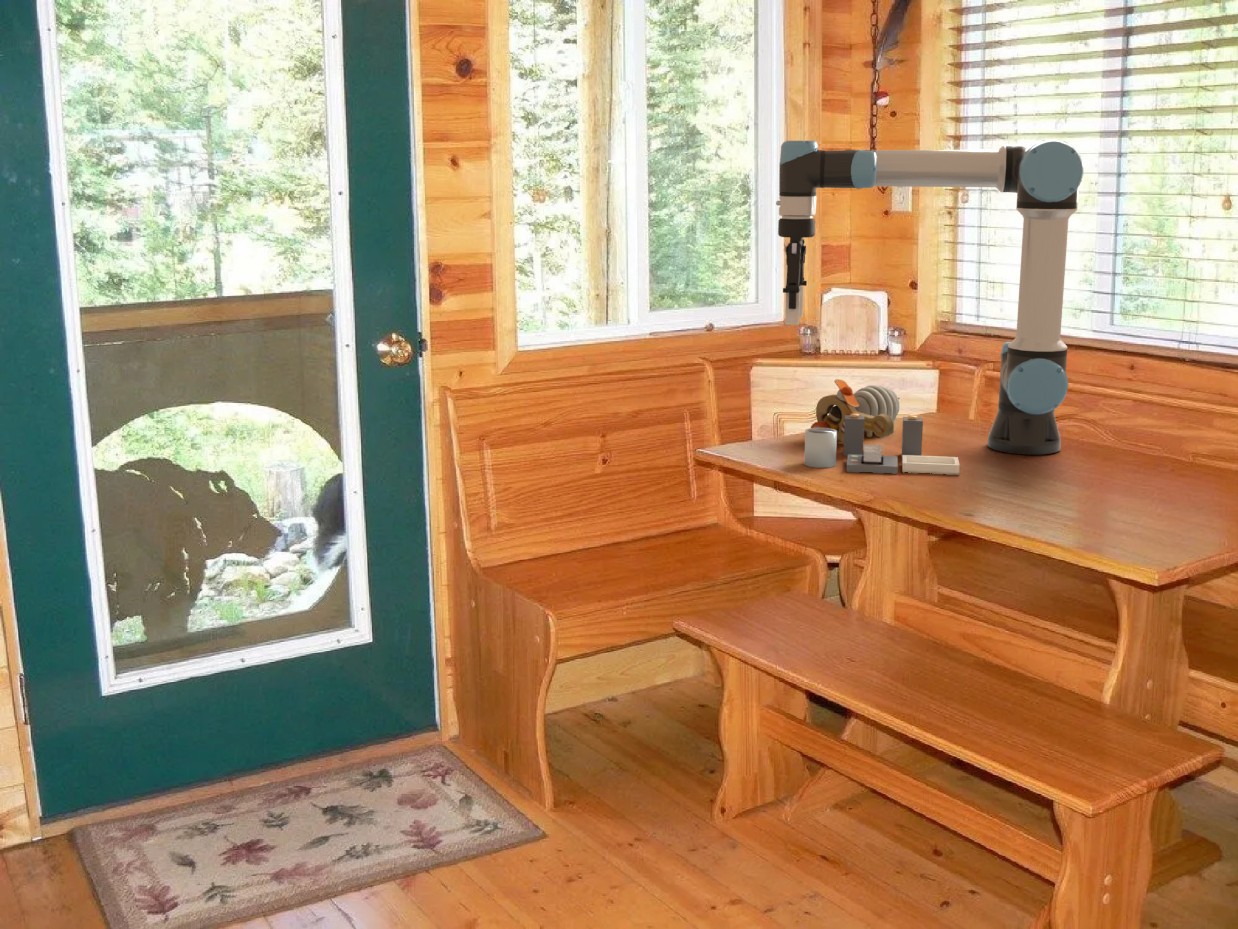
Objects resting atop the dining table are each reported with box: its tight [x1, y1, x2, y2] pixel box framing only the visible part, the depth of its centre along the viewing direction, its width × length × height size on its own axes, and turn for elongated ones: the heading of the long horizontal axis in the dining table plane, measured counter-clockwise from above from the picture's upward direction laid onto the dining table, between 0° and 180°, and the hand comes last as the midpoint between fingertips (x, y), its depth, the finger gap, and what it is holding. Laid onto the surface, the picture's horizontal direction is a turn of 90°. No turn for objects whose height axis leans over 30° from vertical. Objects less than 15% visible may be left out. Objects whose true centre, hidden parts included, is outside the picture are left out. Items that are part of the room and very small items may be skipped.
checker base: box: [846, 454, 899, 475], centre depth 286 cm, size 10×10×2 cm
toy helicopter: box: [810, 378, 895, 444], centre depth 305 cm, size 8×21×14 cm, turn 39°
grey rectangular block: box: [863, 444, 882, 462], centre depth 286 cm, size 3×7×2 cm, turn 170°
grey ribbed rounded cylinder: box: [853, 384, 900, 438], centre depth 318 cm, size 11×17×11 cm, turn 135°
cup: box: [803, 427, 838, 469], centre depth 288 cm, size 6×6×7 cm
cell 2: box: [900, 415, 924, 456], centre depth 295 cm, size 4×4×9 cm
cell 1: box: [843, 414, 865, 457], centre depth 298 cm, size 4×4×9 cm
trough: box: [901, 455, 960, 476], centre depth 284 cm, size 11×8×2 cm
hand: (794, 320), depth 294 cm, fingers open, 13 cm apart
